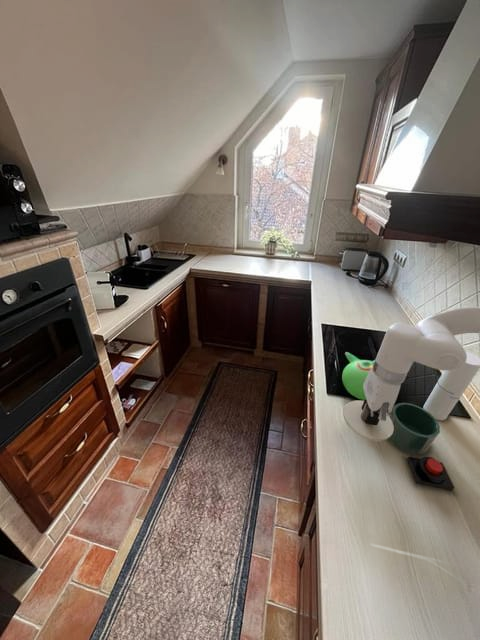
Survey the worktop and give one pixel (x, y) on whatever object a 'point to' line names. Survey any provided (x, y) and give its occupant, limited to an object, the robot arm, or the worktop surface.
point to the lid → (357, 423)
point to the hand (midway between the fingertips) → (368, 416)
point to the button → (433, 466)
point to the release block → (429, 474)
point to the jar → (413, 428)
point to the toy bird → (356, 375)
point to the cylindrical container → (451, 388)
